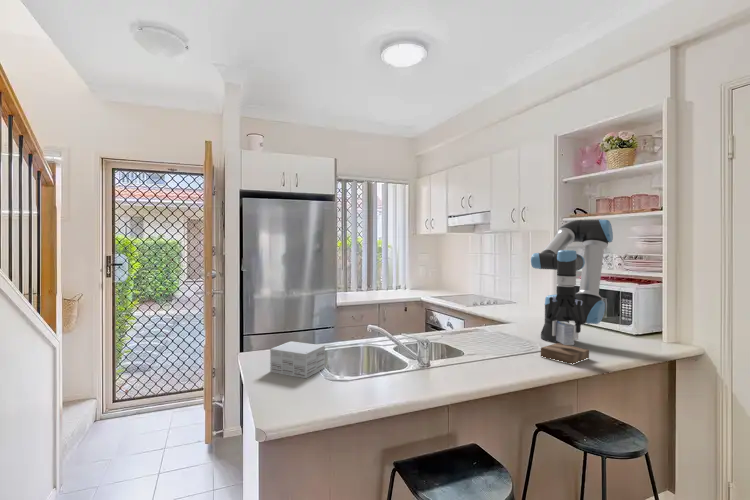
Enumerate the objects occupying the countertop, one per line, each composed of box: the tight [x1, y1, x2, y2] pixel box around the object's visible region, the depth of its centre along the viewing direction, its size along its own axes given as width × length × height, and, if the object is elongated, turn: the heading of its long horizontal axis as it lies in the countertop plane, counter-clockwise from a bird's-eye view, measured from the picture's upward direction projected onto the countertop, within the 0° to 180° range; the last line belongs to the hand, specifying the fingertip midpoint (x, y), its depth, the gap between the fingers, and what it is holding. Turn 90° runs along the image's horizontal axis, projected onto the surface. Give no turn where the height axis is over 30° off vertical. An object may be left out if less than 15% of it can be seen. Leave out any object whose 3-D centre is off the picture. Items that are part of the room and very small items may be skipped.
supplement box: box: [269, 340, 326, 379], centre depth 154 cm, size 17×13×9 cm
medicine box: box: [556, 322, 575, 346], centre depth 171 cm, size 8×4×9 cm, turn 179°
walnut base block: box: [540, 342, 590, 364], centre depth 172 cm, size 14×14×4 cm
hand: (564, 337), depth 171 cm, fingers closed on medicine box, 9 cm apart
